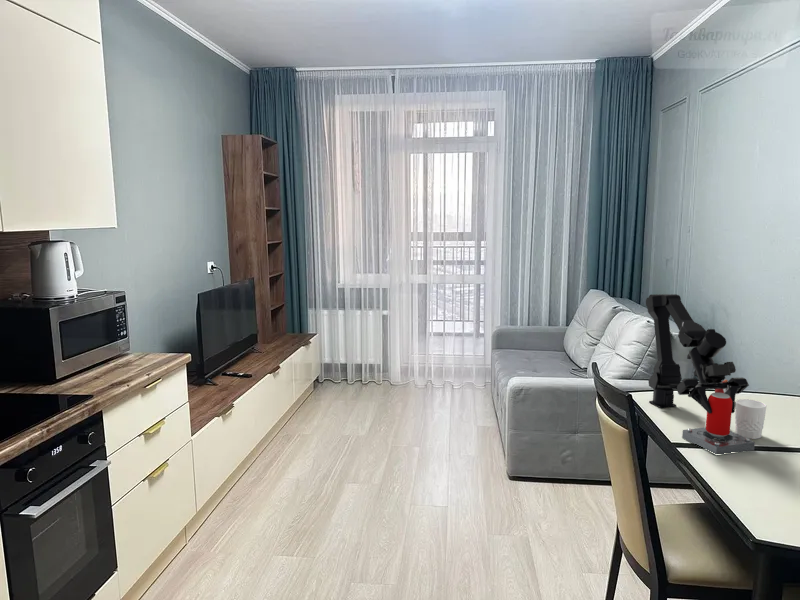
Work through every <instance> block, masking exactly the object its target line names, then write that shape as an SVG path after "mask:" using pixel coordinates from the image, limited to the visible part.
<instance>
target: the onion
mask: <svg viewBox="0 0 800 600" xmlns="http://www.w3.org/2000/svg"><path fill="white" fill-rule="evenodd" d="M728 381H729V380H728V379H724V380H722V382H728ZM716 392H717V393H724V391H723V389H714V393H716Z"/></svg>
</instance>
